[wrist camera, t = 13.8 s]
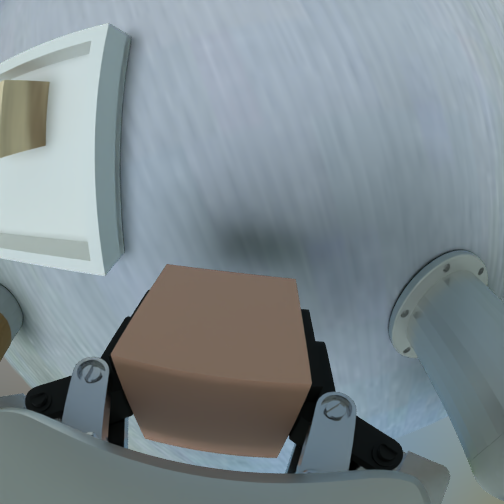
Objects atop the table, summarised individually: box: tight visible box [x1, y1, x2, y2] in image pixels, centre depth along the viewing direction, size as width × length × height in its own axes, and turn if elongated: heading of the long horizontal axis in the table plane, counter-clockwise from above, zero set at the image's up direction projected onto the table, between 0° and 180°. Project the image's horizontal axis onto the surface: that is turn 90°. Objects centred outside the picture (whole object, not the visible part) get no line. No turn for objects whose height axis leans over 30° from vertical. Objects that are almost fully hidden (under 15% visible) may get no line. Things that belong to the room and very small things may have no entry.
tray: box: [0, 23, 132, 276], centre depth 14 cm, size 18×16×4 cm
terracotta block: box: [111, 264, 312, 458], centre depth 9 cm, size 5×5×5 cm
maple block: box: [0, 80, 50, 158], centre depth 11 cm, size 5×5×5 cm
